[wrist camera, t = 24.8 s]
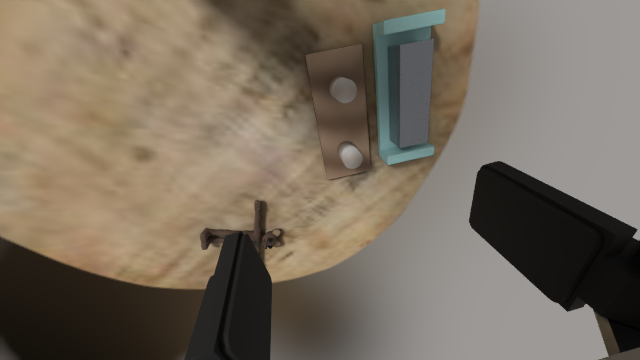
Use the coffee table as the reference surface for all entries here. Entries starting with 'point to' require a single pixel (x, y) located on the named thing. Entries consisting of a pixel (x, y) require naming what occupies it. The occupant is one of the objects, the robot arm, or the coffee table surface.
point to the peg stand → (340, 109)
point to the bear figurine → (255, 235)
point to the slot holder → (382, 38)
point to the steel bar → (409, 91)
